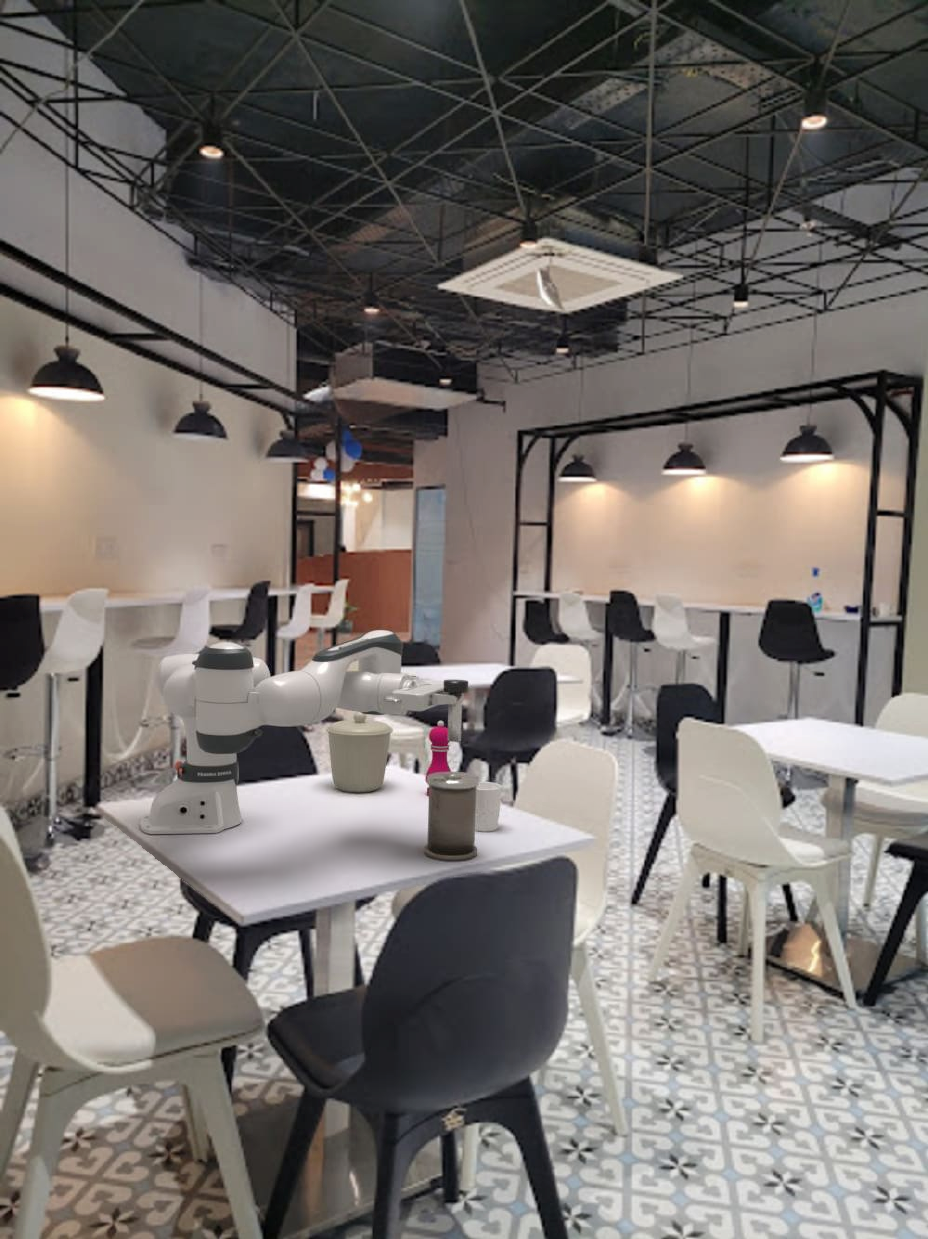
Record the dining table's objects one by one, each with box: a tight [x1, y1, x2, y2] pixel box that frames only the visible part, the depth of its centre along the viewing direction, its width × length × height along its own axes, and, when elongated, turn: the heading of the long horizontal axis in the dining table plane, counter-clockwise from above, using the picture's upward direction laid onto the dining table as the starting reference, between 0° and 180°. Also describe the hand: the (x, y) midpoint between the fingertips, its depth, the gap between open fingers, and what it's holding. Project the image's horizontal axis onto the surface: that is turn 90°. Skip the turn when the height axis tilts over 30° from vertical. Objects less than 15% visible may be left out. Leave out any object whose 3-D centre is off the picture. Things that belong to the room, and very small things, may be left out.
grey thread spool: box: [423, 771, 480, 862], centre depth 191 cm, size 11×11×17 cm
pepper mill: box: [425, 720, 452, 797], centre depth 241 cm, size 7×7×20 cm
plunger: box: [443, 679, 469, 743], centre depth 190 cm, size 5×5×13 cm
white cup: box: [475, 781, 502, 833], centre depth 211 cm, size 8×8×10 cm
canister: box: [325, 711, 394, 793], centre depth 245 cm, size 18×18×21 cm
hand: (459, 698), depth 189 cm, fingers closed on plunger, 3 cm apart
